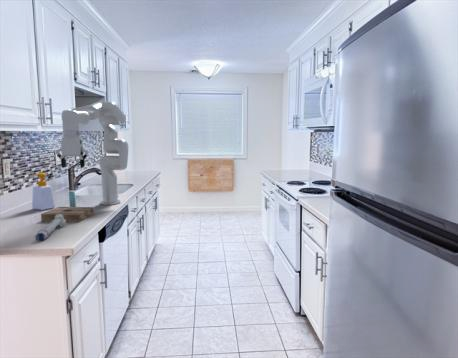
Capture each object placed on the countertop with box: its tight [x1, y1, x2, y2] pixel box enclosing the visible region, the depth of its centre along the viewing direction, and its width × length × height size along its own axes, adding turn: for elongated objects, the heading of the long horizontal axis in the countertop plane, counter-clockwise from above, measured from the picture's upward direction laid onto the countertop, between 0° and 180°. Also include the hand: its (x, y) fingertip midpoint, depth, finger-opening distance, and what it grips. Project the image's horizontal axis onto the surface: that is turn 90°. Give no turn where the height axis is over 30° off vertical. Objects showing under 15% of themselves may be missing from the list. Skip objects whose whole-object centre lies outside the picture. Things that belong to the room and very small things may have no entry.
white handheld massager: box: [35, 214, 67, 242], centre depth 148 cm, size 5×7×25 cm
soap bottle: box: [26, 172, 56, 211], centre depth 192 cm, size 10×14×22 cm
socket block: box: [40, 206, 95, 223], centre depth 175 cm, size 17×20×4 cm
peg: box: [68, 190, 77, 207], centre depth 189 cm, size 3×3×12 cm
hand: (73, 166), depth 169 cm, fingers open, 9 cm apart
